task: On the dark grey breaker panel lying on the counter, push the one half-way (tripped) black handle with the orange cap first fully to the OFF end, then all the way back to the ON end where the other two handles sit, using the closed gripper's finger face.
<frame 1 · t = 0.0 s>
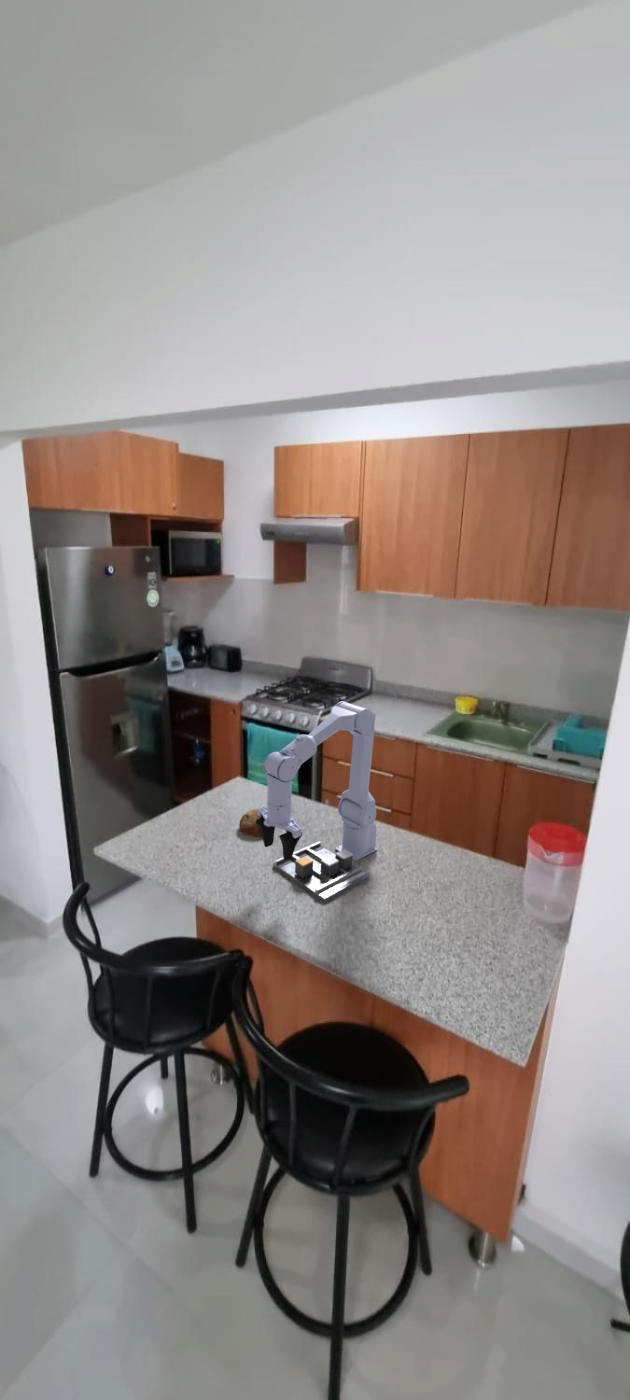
hand: (278, 851, 138), 10 cm above the countertop, fingers open, 7 cm apart
breaker b: (329, 866, 145), point 3 cm above the countertop, slide at 8.0 cm
breaker tripped: (304, 866, 144), point 3 cm above the countertop, slide at 4.0 cm
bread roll: (257, 830, 169), on the countertop
panel: (320, 872, 147), on the countertop
breaker a: (343, 859, 148), point 3 cm above the countertop, slide at 8.0 cm
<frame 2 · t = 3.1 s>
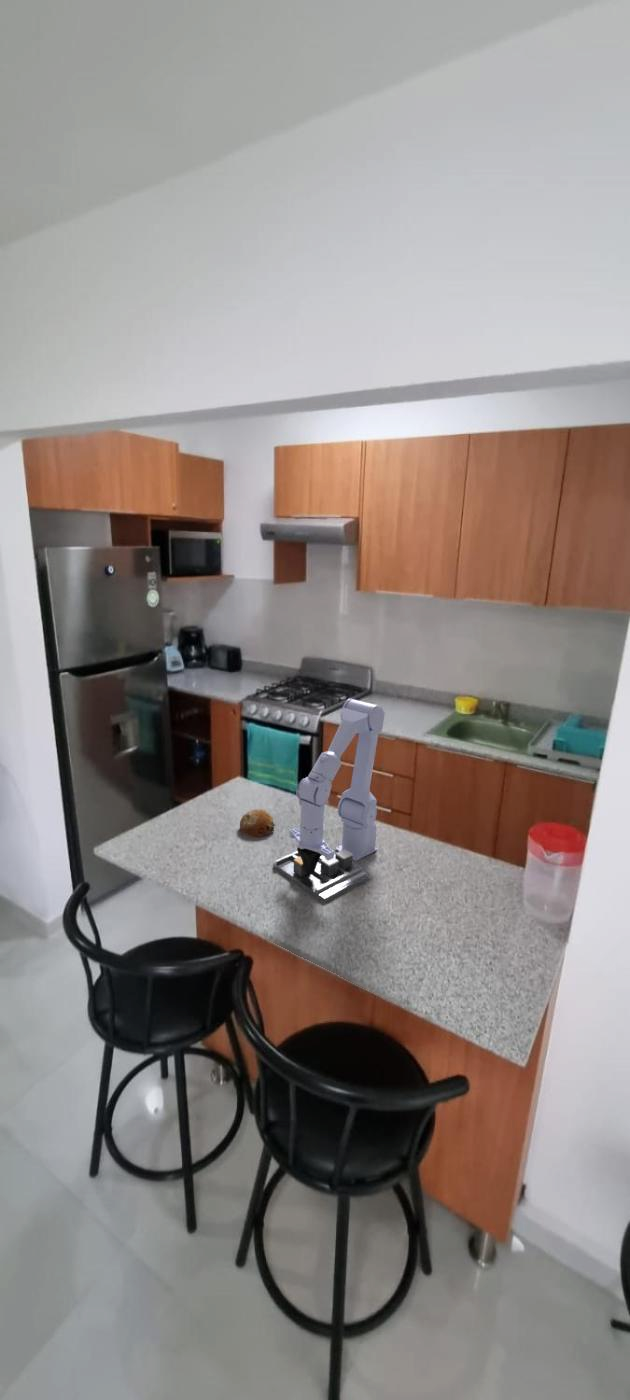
hand: (309, 872, 142), 3 cm above the countertop, fingers closed
breaker tripped: (302, 865, 144), point 3 cm above the countertop, slide at 3.4 cm, touching gripper
everything else where it was.
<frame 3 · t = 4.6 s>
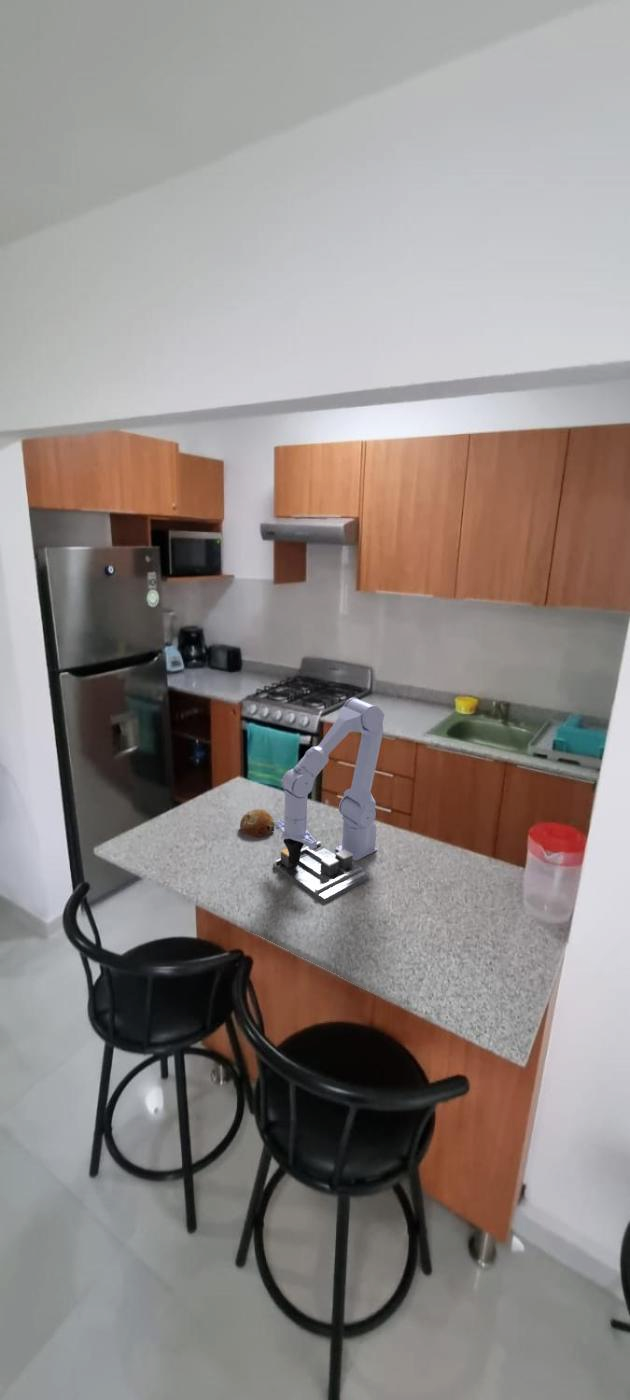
hand: (294, 862, 147), 3 cm above the countertop, fingers closed, pressing on breaker tripped
breaker tripped: (289, 857, 148), point 3 cm above the countertop, slide at -1.9 cm, touching gripper
everything else where it was.
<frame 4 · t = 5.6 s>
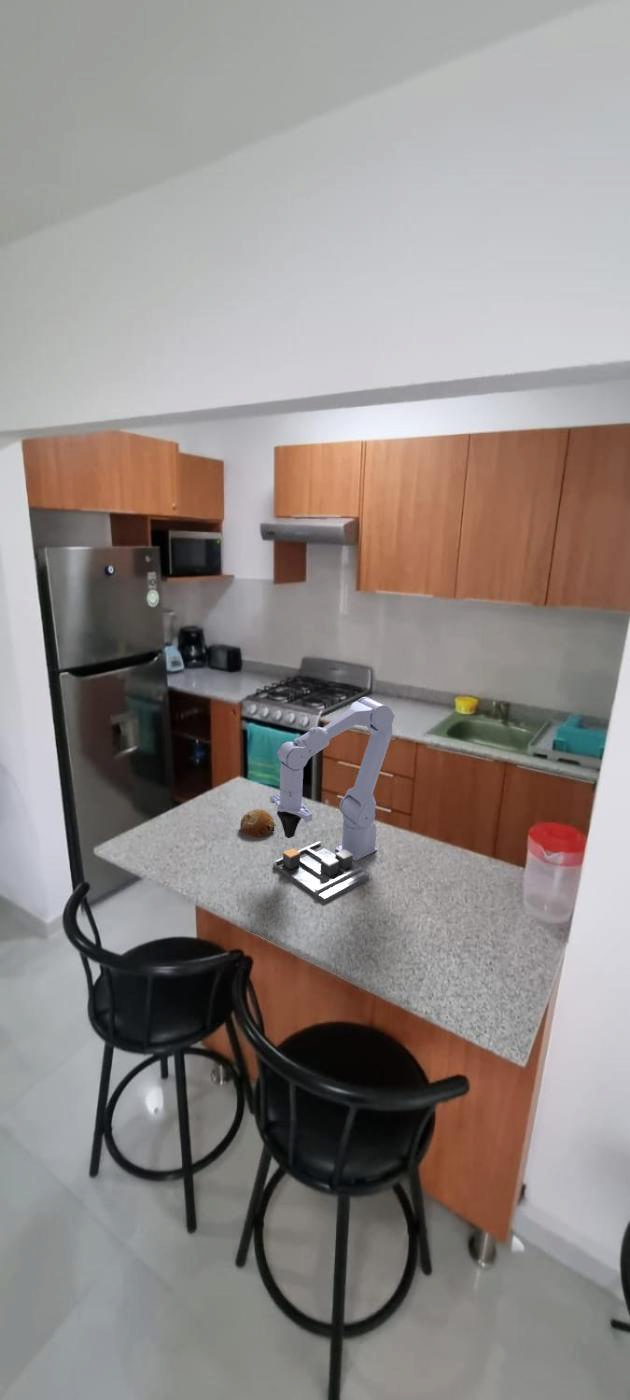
hand: (289, 836, 146), 9 cm above the countertop, fingers closed
breaker tripped: (291, 858, 147), point 3 cm above the countertop, slide at -1.0 cm
everything else where it was.
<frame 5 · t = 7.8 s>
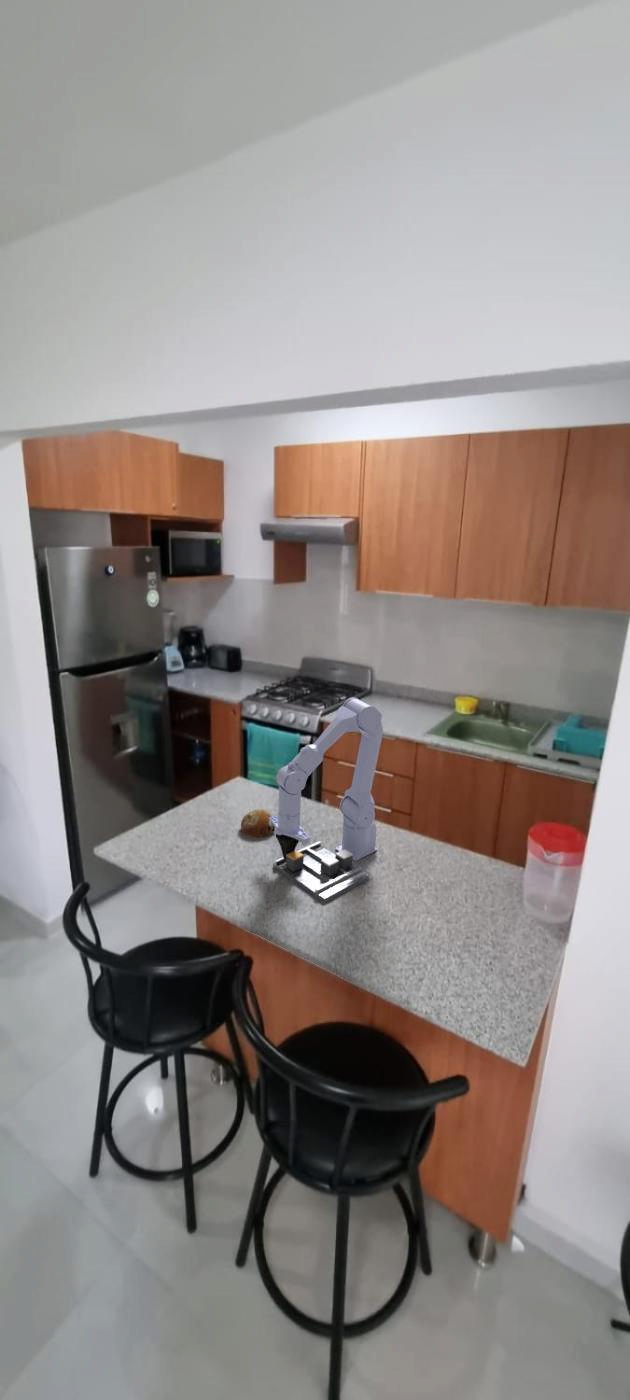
hand: (287, 858, 149), 3 cm above the countertop, fingers closed
breaker tripped: (294, 860, 146), point 3 cm above the countertop, slide at 0.3 cm, touching gripper
everything else where it was.
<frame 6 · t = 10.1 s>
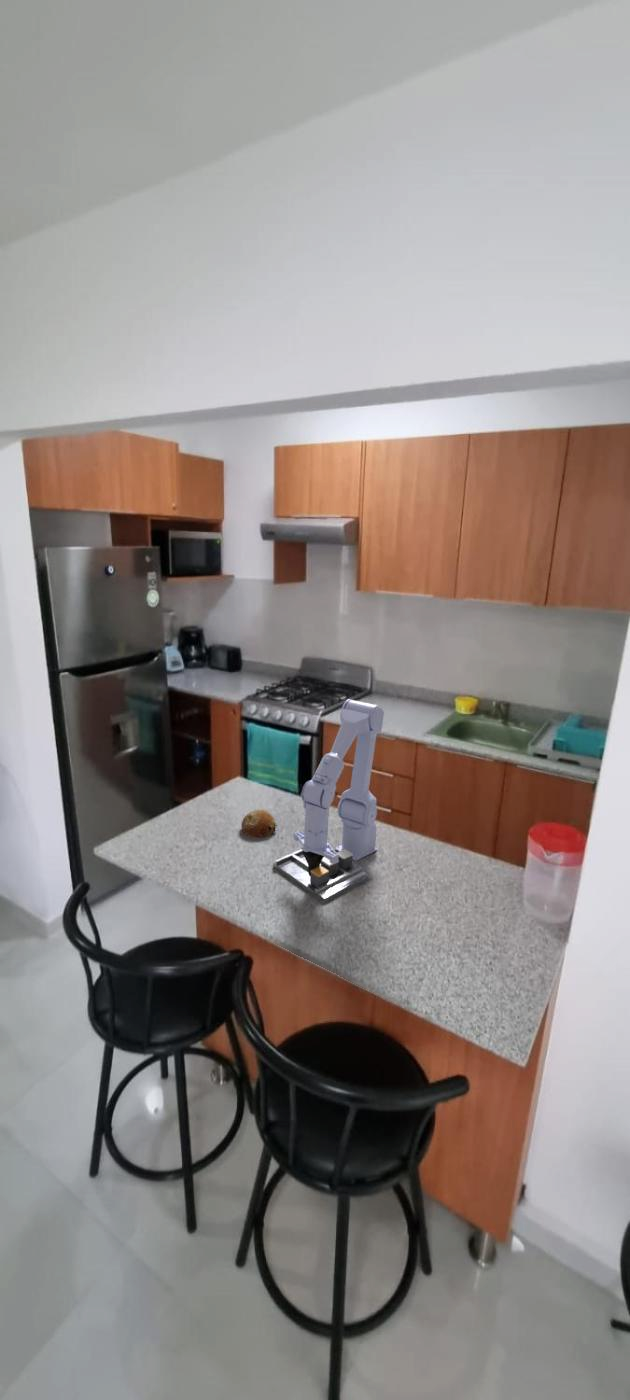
hand: (313, 875, 141), 3 cm above the countertop, fingers closed, pressing on breaker tripped
breaker tripped: (319, 877, 140), point 3 cm above the countertop, slide at 9.9 cm, touching gripper
everything else where it was.
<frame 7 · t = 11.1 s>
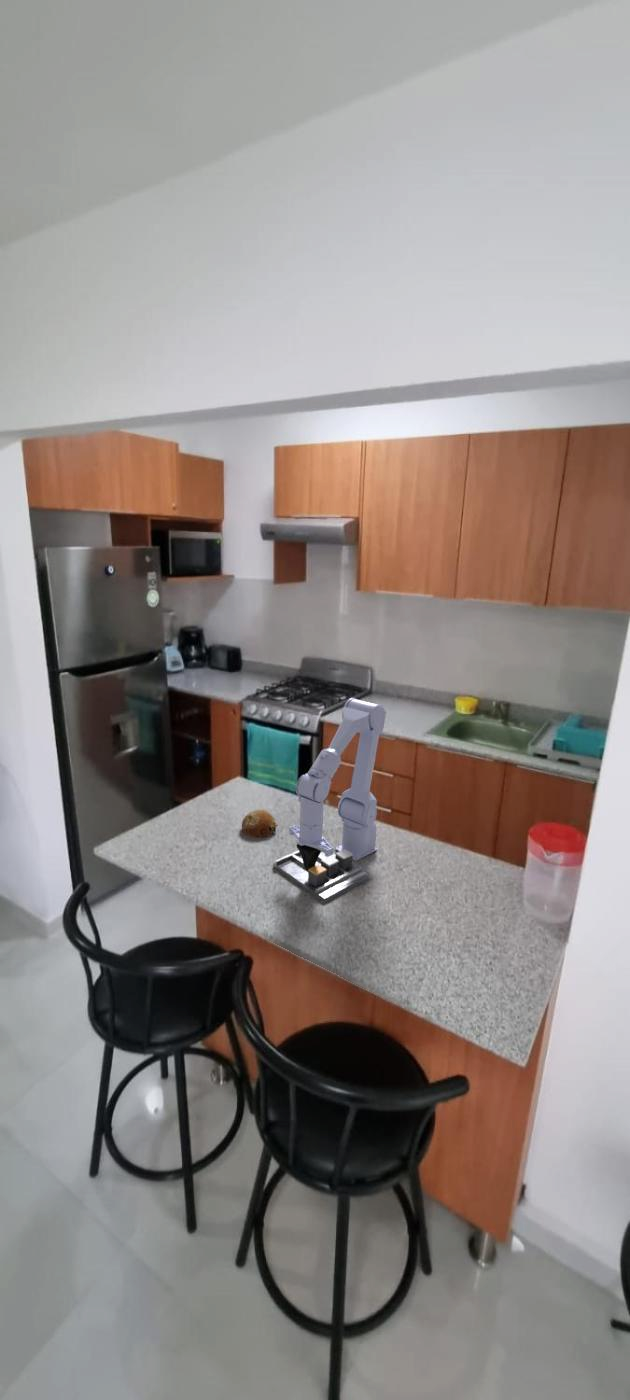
hand: (309, 869, 142), 4 cm above the countertop, fingers closed
breaker tripped: (317, 875, 140), point 3 cm above the countertop, slide at 9.0 cm
everything else where it was.
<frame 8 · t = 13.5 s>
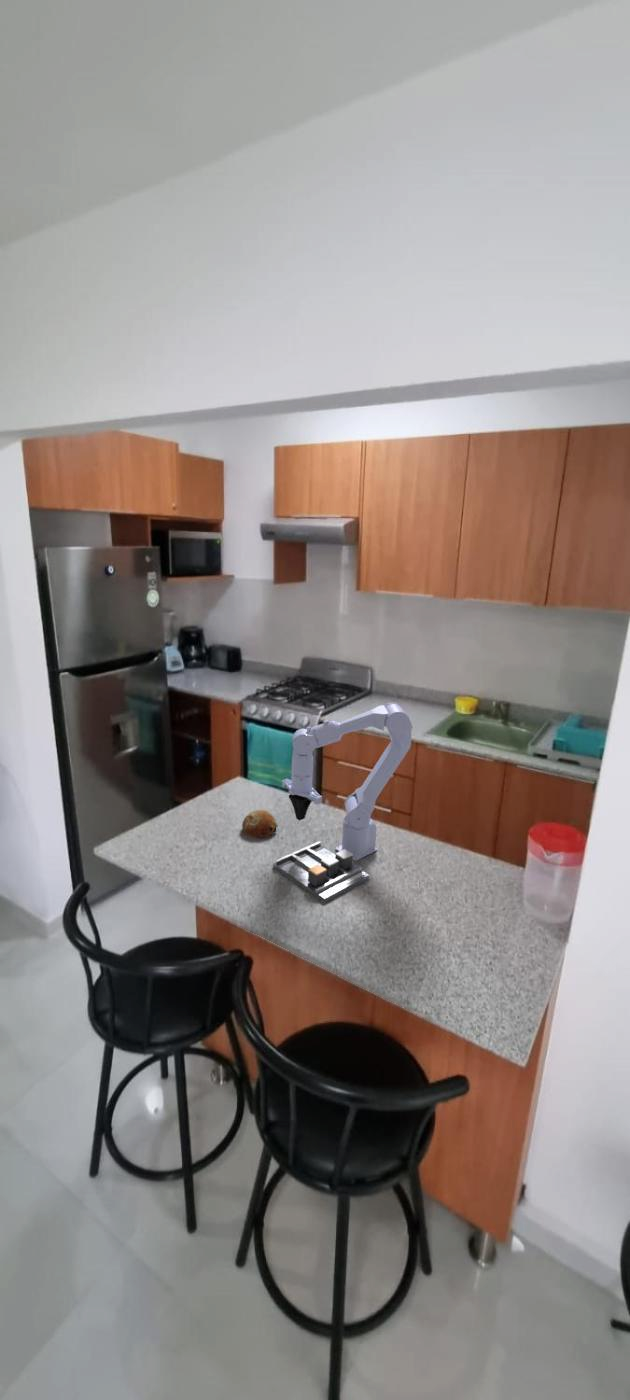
hand: (300, 818, 155), 10 cm above the countertop, fingers closed
at the end: breaker tripped slide at 9.0 cm; breaker b slide at 8.0 cm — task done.
